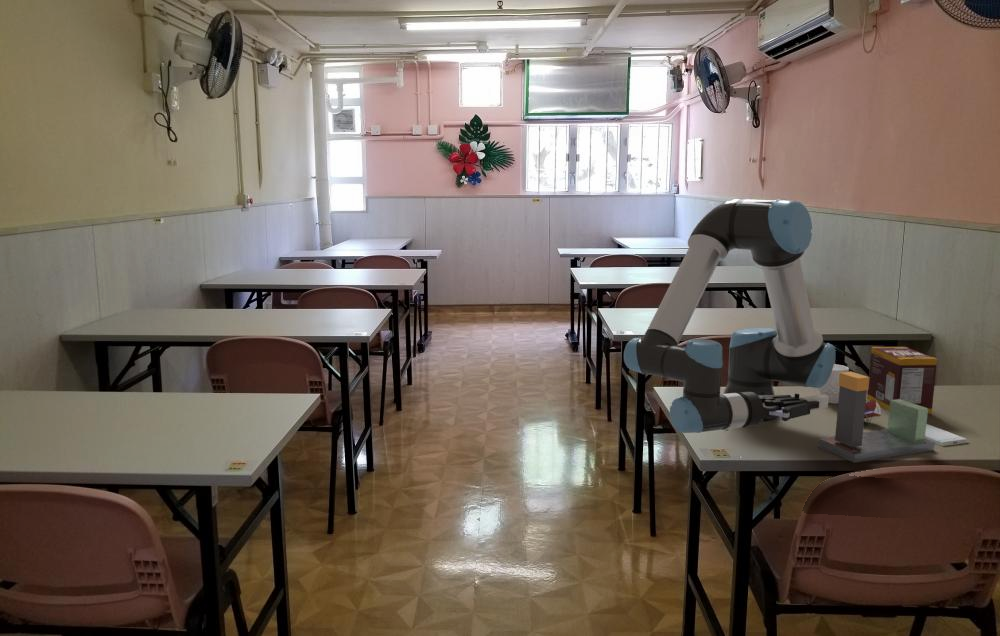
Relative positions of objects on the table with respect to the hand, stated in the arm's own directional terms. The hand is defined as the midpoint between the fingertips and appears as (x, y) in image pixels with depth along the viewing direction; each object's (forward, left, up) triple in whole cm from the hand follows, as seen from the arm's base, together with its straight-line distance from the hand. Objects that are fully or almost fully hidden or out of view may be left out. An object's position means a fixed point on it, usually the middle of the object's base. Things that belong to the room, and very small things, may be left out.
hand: (825, 401), depth 169 cm
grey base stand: (+10, +13, -13) cm, 21 cm away
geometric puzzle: (+6, +33, -13) cm, 36 cm away
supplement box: (+13, +54, -13) cm, 57 cm away
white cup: (-4, +50, -13) cm, 52 cm away
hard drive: (+22, +30, -14) cm, 40 cm away
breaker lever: (+5, +6, -11) cm, 13 cm away
